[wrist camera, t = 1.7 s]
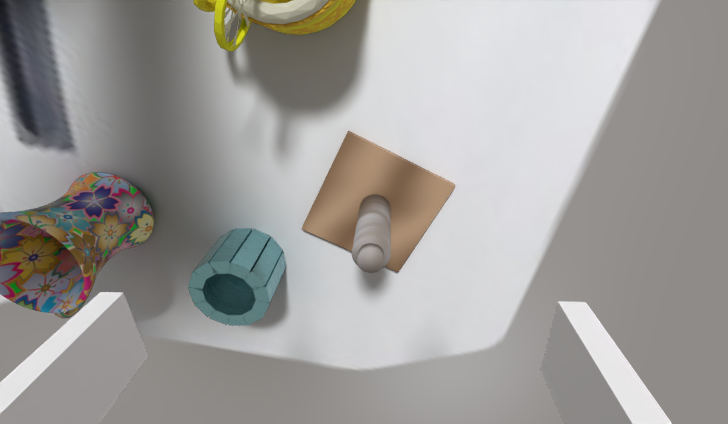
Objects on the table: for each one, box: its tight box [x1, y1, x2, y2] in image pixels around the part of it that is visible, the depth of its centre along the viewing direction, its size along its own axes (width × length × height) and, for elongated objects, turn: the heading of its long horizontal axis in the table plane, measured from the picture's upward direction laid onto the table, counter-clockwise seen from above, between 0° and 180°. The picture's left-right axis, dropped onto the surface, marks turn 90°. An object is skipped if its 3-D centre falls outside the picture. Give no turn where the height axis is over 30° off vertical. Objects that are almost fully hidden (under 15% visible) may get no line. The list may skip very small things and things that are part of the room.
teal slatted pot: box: [188, 229, 286, 325], centre depth 37 cm, size 8×8×6 cm
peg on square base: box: [302, 131, 455, 273], centre depth 32 cm, size 11×11×10 cm
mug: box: [0, 172, 154, 318], centre depth 34 cm, size 12×9×11 cm
